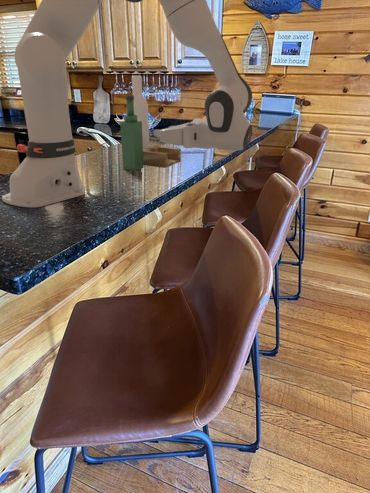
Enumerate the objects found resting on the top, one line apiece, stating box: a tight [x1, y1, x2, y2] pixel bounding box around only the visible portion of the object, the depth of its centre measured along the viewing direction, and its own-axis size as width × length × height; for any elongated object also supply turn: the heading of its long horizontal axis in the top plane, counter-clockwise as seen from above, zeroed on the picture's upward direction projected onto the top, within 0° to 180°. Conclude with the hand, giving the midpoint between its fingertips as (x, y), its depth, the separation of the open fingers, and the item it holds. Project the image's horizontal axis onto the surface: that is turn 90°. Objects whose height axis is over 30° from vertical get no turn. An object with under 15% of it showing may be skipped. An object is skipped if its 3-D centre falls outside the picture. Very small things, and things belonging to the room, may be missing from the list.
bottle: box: [131, 75, 150, 150], centre depth 142 cm, size 8×8×30 cm
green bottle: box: [120, 94, 145, 172], centre depth 124 cm, size 5×5×24 cm
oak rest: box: [143, 145, 182, 169], centre depth 136 cm, size 12×11×5 cm
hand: (162, 130), depth 118 cm, fingers open, 8 cm apart
